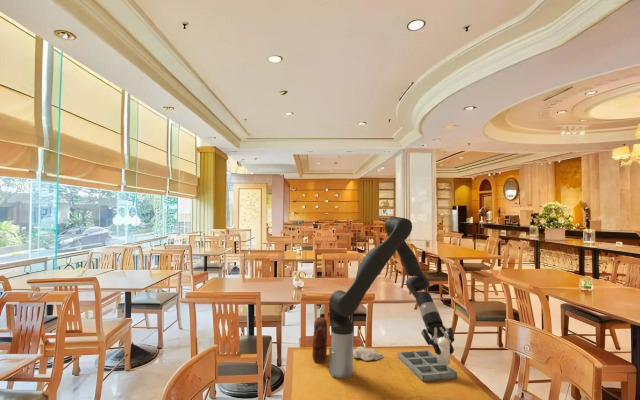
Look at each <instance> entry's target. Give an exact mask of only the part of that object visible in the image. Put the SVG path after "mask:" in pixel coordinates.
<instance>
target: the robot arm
mask: <svg viewBox="0 0 640 400" xmlns="http://www.w3.org/2000/svg"><path fill="white" fill-rule="evenodd" d="M384 231H385V232H386V233H385V234H387V236H388V237H387V238H386V239H385V240H384V241H382V242H381V243H380V244H378V245H376V246H374V247H373V248H371V249H370V250H369V251H368V252H367V253H366V255H365V256H363V258H362V260H361V262H360V263H359V265H358V269H357V272H356V275H355V279H354V281H353V283H352V285H351V286H350V287H349V288H348V289H347V290H346V291H344V290H336V291H334V292H333V293H332V294H331V296H330V298H329V303H328V304H329V305H328V315H329V316H328V317H329V324H330V331H331V332H330V347H329V349H328V350H329V353H328V354H329V356H328V357H329V360H328V361H329V362H328V363H329V364H328V372H329V374H330V375H331V377H332V378H337V379H348V378H351V377H352V376H353V373H354V372H353V371H354V367H353V365H354V356H353V349H354V324H353V322H352V320H351V317H350V316H352V315H353V314H354V313H355V312H356V310H357V309H358V307H359V306H360V304H361V302H362V301H363V298H364V297H365V295H366V293H367V292H368V290H369V289H370V288H371V286H372V285H373V283H374V282H375V280H376V279H377V277H378V276H379V275H380V273H382V271H383V270H384V268H385V267H386V265H387V264H388V262H389V261H390V259H391V258H392V257H393V255H394V254H395V252H397V254H398V256H399V258H400V261H401V263H402V266H403V269H404V271H405V274H406V276H409V278H407V279H406V281H405V284H406V287H407V289H408V290H409V292H410V293H411V294H412V296H413V297H414V299H415V302H416V303H417V307H418V308H419V309H418V310H419V313H420V315H421V319H422V320H423V323H424V326H425V328H426V329H425V328H424V329H422V330H421V335H422V337H423V339H424V340H425V342H426V344H427V345H428V346H432V347H433V350H434V352H435V354H436V356H437V355H440V354H441V351H440V349H439V346H438V344H437V340H438V338H440V337H445V338H446V339H448V341H449V343H450V355H452V354H454V352H455V349H454V347H453V343H454V341H455V336H454V331H453V328H452V327H446V326H444V324H443V323H444V322H443V320H442V318H441V316H440V315H441V314H440V313H439V310H438V308H437V305H435V302H434V300H433V298H432V295H431V294H430V293H429V292H428V291H424V290H427V289H428V288H429V287H430V280H429V279H428V277H427V276H426V275H425V274H424V272H423V269H421V266H420V264H419V261H418V259H417V256H416V254H415V253H414V251H413V250H412V249H411V248H410V246H409V245H408V243H407V242H406V240H407V239H408V238H409V237H410V235H411V233H412V231H413V222H412V221H411V220H410V219H409V218H405V217H400V216H398V217H397V216H390V217H388V218H387V219H386V220H385V222H384Z"/></svg>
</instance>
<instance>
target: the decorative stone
mask: <svg viewBox="0 0 640 400" xmlns="http://www.w3.org/2000/svg"><path fill="white" fill-rule="evenodd" d="M384 357H385V356H384V355H382V353H380V352H378V350H377V349H376V348H367V347H364V346H357V347H356V348H353V358H355V359H359V360H362V361H364V362H369V361H378V359H379V360H380V359H381V360H382V359H384Z"/></svg>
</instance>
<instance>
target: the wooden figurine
mask: <svg viewBox="0 0 640 400" xmlns="http://www.w3.org/2000/svg"><path fill="white" fill-rule="evenodd" d="M313 323H314V324H313V335H312V336H313V337H312V360H313V362H314V363H316V364H317V363H324V362H326V360H327V349H328V348H327V347H328V344H327V343H328V341H327V340H328V324H327V320H326V318H325V317H321V316H320V317H316V318H315V320H314V322H313Z"/></svg>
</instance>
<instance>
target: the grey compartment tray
mask: <svg viewBox="0 0 640 400" xmlns="http://www.w3.org/2000/svg"><path fill="white" fill-rule="evenodd" d="M397 356H398V359H399V360H400V361H401V362H402V363H403V364H404V366H406V367H407V368H408V369H409V370H410V371H411V372H412V373H413V374H414V375H415V376H416V377H418V379H419V380H420V381H421V382H422V383H426V382H428V383H429V382H436V381H438V382H439V381H448V380H449V381H450V380H457V379H458V372H457V371H456V370H455V369H454V368H452V367H451V366H450V365H449V364H448V365H443V364H439V363H438V362H437V355H435V354H434V353H432V352H431V351H430V350H428V349H426V350H424V349H423V350H410V351H398V355H397Z"/></svg>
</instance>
